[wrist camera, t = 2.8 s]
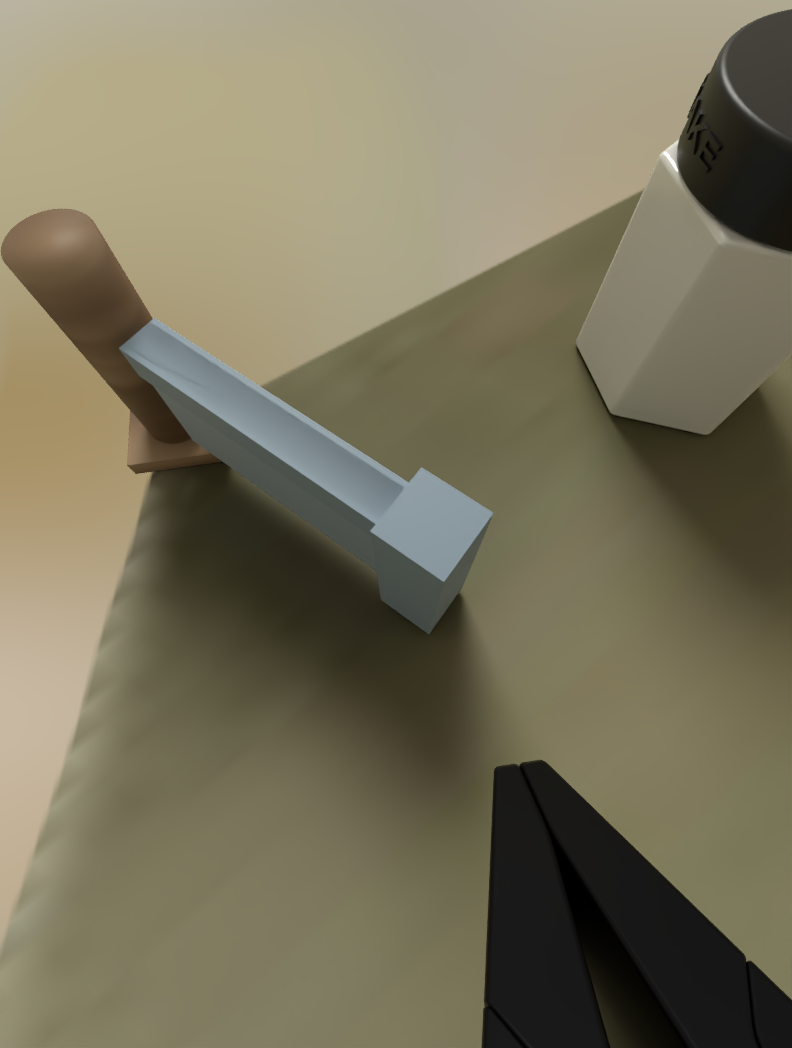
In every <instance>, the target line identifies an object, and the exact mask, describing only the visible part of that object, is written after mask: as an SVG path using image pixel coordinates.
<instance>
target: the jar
mask: <svg viewBox="0 0 792 1048" xmlns="http://www.w3.org/2000/svg"><path fill="white" fill-rule="evenodd" d="M688 118H689V119H688V121H687V123H686V125H685V127H684V129H683V131H682V134H681V136H680V139H679V140H677V141H676V142H675V143H673V144H672V145H671V146H670V147H669V148H667V149H666V150H665V151H663V152H662V153H661V155H660V156H659V158H658V160H657V162H656V164H655V167H654V169H653V171H652V173H651V176H650V178H649V180H648V182H647V185H646V187H645V189H644V191H643V193H642V196H641V198H640V200H639V202H638V205H637V207H636V209H635V211H634V213H633V216H632V218H631V220H630V222H629V225H628V227H627V229H626V231H625V233H624V236H623V238H622V240H621V242H620V245H619V247H618V249H617V251H616V254H615V256H614V258H613V260H612V262H611V265H610V267H609V269H608V271H607V274H606V276H605V278H604V280H603V282H602V285H601V287H600V289H599V291H598V294H597V296H596V298H595V300H594V303H593V305H592V307H591V309H590V311H589V314H588V316H587V318H586V320H585V323H584V325H583V327H582V329H581V331H580V334H579V336H578V338H577V341H576V345H577V347H578V349H579V351H580V353H581V355H582V357H583V359H584V361H585V363H586V365H587V367H588V369H589V371H590V373H591V375H592V377H593V379H594V381H595V383H596V385H597V387H598V389H599V391H600V393H601V395H602V397H603V399H604V401H605V403H606V405H607V408H608V410H609V412H610V413H611V414H613V415H616V416H621V417H625V418H630V419H635V420H639V421H644V422H648V423H653V424H657V425H662V426H666V427H671V428H675V429H680V430H685V431H689V432H694V433H698V434H703V435H708V434H710V433H711V432H712V431H713V430H714V429H716V428H717V427H718V426H719V425H720V424H721V423H722V422H723V421H724V420H725V419H726V418H727V417H728V416H729V415H730V414H731V413H732V412H733V411H734V410H735V409H736V408H737V407H738V406H740V405H741V404H742V403H743V402H744V401H745V400H746V399H747V398H748V397H749V396H750V395H751V394H752V393H753V392H754V391H755V390H756V389H757V388H758V387H759V386H760V385H761V384H762V383H764V382H765V381H766V380H767V379H768V378H769V377H770V376H771V375H772V374H773V373H774V372H775V371H776V370H777V369H778V368H779V367H780V366H781V365H782V364H783V363H784V362H785V361H786V360H787V359H789V358H790V357H791V356H792V9H791V10H786V11H781V12H777V13H774V14H771V15H767V16H765V17H762V18H759V19H757V20H755V21H753V22H751V23H749V24H747V25H746V26H744V27H743V28H741V29H740V30H739V31H737V32H736V33H735V34H734V35H733V36H731V38H730V39H729V40H728V41H727V42H726V43H725V45H724V46H723V48H722V49H721V51H720V53H719V55H718V57H717V59H716V61H715V63H714V66H713V68H712V70H711V72H710V73H708V74H707V76H706V78H705V80H704V82H703V83H702V85H701V87H700V89H699V92H698V94H697V96H696V98H695V100H694V102H693V104H692V107H691V109H690V111H689V114H688Z"/></svg>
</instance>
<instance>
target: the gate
mask: <svg viewBox="0 0 792 1048" xmlns="http://www.w3.org/2000/svg"><path fill="white" fill-rule="evenodd" d="M119 350H120V351H121V352H122V354H123V355H124V356H125V358H126V359H127V360H128V362H129V363H130V364H131V366H132V367H133V368H134V370H135V371H136V372H137V374H138V375H139V376H140V377H141V378H143V379H144V380H146V381H147V382H149V383H150V384H152V385H153V386H154V388H155V389H156V390H157V392H158V393H159V395H160V396H161V397H162V399H163V400H164V401H165V403H166V404H167V406H168V407H169V408H170V410H171V411H172V412H173V414H174V415H175V417H176V418H177V419H178V421H179V422H180V424H181V425H182V426H183V428H184V429H185V430H186V432H187V433H188V435H189V436H190V437H191V439H192V440H193V441H194V442H196V443H197V444H198V445H200V446H201V447H203V448H204V449H205V450H207V451H208V452H210V453H211V454H212V455H214V456H215V457H217V458H218V459H220V460H221V461H222V462H224V463H225V464H227V465H228V466H229V467H231V468H232V469H234V470H235V471H236V472H238V473H239V474H241V475H242V476H243V477H245V478H246V479H248V480H249V481H250V482H252V483H253V484H255V485H256V486H257V487H259V488H260V489H262V490H263V491H265V492H266V493H267V494H269V495H270V496H272V497H273V498H274V499H276V500H277V501H279V502H280V503H281V504H283V505H284V506H286V507H287V508H288V509H290V510H291V511H293V512H294V513H295V514H297V515H298V516H300V517H301V518H303V519H304V520H305V521H307V522H308V523H310V524H311V525H312V526H314V527H315V528H317V529H318V530H319V531H321V532H322V533H324V534H325V535H326V536H328V537H329V538H331V539H332V540H333V541H335V542H336V543H338V544H339V545H341V546H342V547H343V548H345V549H346V550H348V551H349V552H350V553H352V554H353V555H355V556H356V557H357V558H359V559H360V560H362V561H363V562H364V563H366V564H367V565H369V566H370V567H371V568H373V569H374V570H376V571H377V577H378V584H379V590H380V596H381V600H382V601H383V602H385V603H386V604H387V605H389V606H390V607H391V608H393V609H394V610H396V611H397V612H398V613H400V614H401V615H402V616H404V617H405V618H407V619H408V620H409V621H411V622H412V623H413V624H415V625H416V626H418V627H419V628H420V629H422V630H423V631H425V632H426V633H427V634H430V632H431V631H432V630H433V628H434V627H435V625H436V624H437V622H438V621H439V620H440V618H441V617H442V615H443V614H444V613H445V611H446V610H447V608H448V607H449V605H450V604H451V603H452V601H453V600H454V598H455V597H456V595H457V594H458V593H459V591H460V590H461V588H462V586H463V584H464V582H465V579H466V577H467V575H468V572H469V570H470V568H471V565H472V563H473V561H474V558H475V556H476V553H477V551H478V549H479V546H480V544H481V542H482V539H483V537H484V535H485V532H486V530H487V528H488V525H489V523H490V520H491V518H492V516H493V512H491V511H490V510H488V509H486V508H485V507H483V506H482V505H480V504H478V503H477V502H475V501H474V500H472V499H471V498H469V497H467V496H466V495H464V494H463V493H461V492H460V491H458V490H456V489H455V488H453V487H452V486H450V485H449V484H447V483H445V482H444V481H442V480H441V479H439V478H437V477H436V476H434V475H433V474H431V473H430V472H428V471H426V470H425V469H423V468H422V467H421V469H420V470H419V471H418V472H417V474H416V475H415V476H414V477H413V479H412V480H411V481H410V482H409V483H408V482H407V481H405V480H404V479H402V478H401V477H399V476H397V475H396V474H394V473H393V472H391V471H390V470H388V469H387V468H385V467H384V466H382V465H380V464H379V463H377V462H376V461H374V460H373V459H371V458H370V457H368V456H367V455H365V454H363V453H362V452H360V451H359V450H357V449H356V448H354V447H353V446H351V445H350V444H348V443H347V442H345V441H343V440H342V439H340V438H339V437H337V436H336V435H334V434H333V433H331V432H330V431H328V430H326V429H325V428H323V427H322V426H320V425H319V424H317V423H316V422H314V421H313V420H311V419H309V418H308V417H306V416H305V415H303V414H302V413H300V412H299V411H297V410H296V409H294V408H292V407H291V406H289V405H288V404H286V403H285V402H283V401H282V400H280V399H279V398H277V397H275V396H274V395H272V394H271V393H269V392H268V391H266V390H265V389H263V388H262V387H260V386H259V385H257V384H255V383H254V382H252V381H251V380H249V379H248V378H246V377H245V376H243V375H242V374H240V373H238V372H237V371H235V370H234V369H232V368H231V367H229V366H228V365H226V364H225V363H223V362H221V361H220V360H218V359H217V358H215V357H213V356H212V355H211V354H209V353H207V352H206V351H204V350H203V349H201V348H200V347H198V346H197V345H195V344H194V343H192V342H190V341H189V340H187V339H186V338H184V337H183V336H181V335H180V334H178V333H177V332H175V331H174V330H172V329H170V328H169V327H167V326H166V325H164V324H163V323H161V322H160V321H158V320H157V319H155V318H154V319H152V320H151V321H150V322H149V323H148V324H147V325H145V326H144V327H143V328H142V329H141V330H140V331H138V332H137V333H136V334H135V335H134V336H132V337H131V338H130V339H129V340H128V341H127V342H125V343H124V344H123V345H122V346H121V347H120V348H119Z"/></svg>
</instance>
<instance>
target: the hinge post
mask: <svg viewBox="0 0 792 1048" xmlns="http://www.w3.org/2000/svg"><path fill="white" fill-rule="evenodd" d="M1 255H2V259H3V261H4V262H5V264H6V265H7V266H8V267H9V269H10V270H11V271H12V272H13V273H14V274H15V276H16V277H17V278H18V279H19V280H20V281H21V282H22V284H23V285H24V286H25V287H26V289H28V291H29V292H30V293H31V294H32V296H33V297H34V298H35V299H36V300H37V301H38V302H39V304H40V305H41V306H42V307H43V308H44V309H45V311H46V312H47V313H48V314H49V316H50V317H51V318H52V319H53V320H54V321H55V322H56V324H57V325H58V326H59V327H60V328H61V330H62V331H63V332H64V333H65V334H66V335H67V337H68V338H69V339H70V340H71V341H72V342H73V344H74V345H75V346H76V347H77V348H78V349H79V351H80V352H81V353H82V354H83V355H84V357H85V358H86V359H87V360H88V361H89V362H90V364H91V365H92V366H93V367H94V368H95V369H96V370H97V372H98V373H99V374H100V375H101V377H102V378H103V379H104V380H105V381H106V382H107V383H108V385H109V386H110V387H111V388H112V389H113V391H114V392H115V393H116V394H117V395H118V396H119V397H120V399H121V400H122V401H123V402H124V403H125V405H126V406H127V407H128V408H129V409H130V425H129V444H128V461H127V466H128V467H130V469H132V470H133V471H134V472H135V473H136V474H138V473H145V472H152V471H160V470H167V469H174V468H181V467H189V466H196V465H203V464H210V463H218V462H222V461H221V460H220V459H218V458H217V457H215V456H214V455H212V454H211V453H210V452H208V451H207V450H205V449H204V448H203V447H201V446H200V445H198V444H197V443H196V442H194V441H193V440H192V439H191V437H190V436H189V435H188V433H187V432H186V430H185V429H184V428H183V426H182V425H181V424H180V422H179V421H178V419H177V418H176V417H175V415H174V414H173V412H172V411H171V410H170V408H169V407H168V406H167V404H166V403H165V401H164V400H163V399H162V397H161V396H160V395H159V393H158V392H157V390H156V389H155V388H154V386H153V385H152V384H150V383H149V382H147V381H146V380H144V379H143V378H141V377H140V376H139V375H138V374H137V372H136V371H135V370H134V368H133V367H132V366H131V364H130V363H129V362H128V360H127V359H126V358H125V356H124V355H123V354H122V352H121V351H120V350H119V348H120V347H121V346H122V345H123V344H124V343H125V342H127V341H128V340H129V339H130V338H131V337H132V336H134V335H135V334H136V333H137V332H138V331H140V330H141V329H142V328H143V327H144V326H145V325H147V324H148V323H149V322H150V321H151V320H152V319H153V318H152V317H151V315H150V313H149V312H148V310H147V308H146V307H145V305H144V303H143V302H142V300H141V298H140V297H139V295H138V294H137V292H136V290H135V289H134V287H133V285H132V284H131V282H130V280H129V279H128V277H127V276H126V274H125V272H124V271H123V269H122V267H121V266H120V264H119V262H118V261H117V259H116V257H115V256H114V254H113V252H112V251H111V249H110V247H109V246H108V244H107V243H106V241H105V239H104V238H103V236H102V234H101V233H100V231H99V229H98V228H97V226H96V224H95V223H94V222H93V220H92V219H91V218H90V217H89V216H87V215H86V214H84V213H82V212H79V211H76V210H71V209H53V210H47V211H43V212H40V213H37V214H34V215H32V216H30V217H28V218H26V219H24V220H22V221H21V222H19V223H18V224H17V225H16V226H14V227H13V228H12V229H11V230H10V232H9V233H8V234H7V236H6V237H5V239H4V241H3V243H2V247H1Z"/></svg>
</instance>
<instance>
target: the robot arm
mask: <svg viewBox="0 0 792 1048" xmlns="http://www.w3.org/2000/svg"><path fill="white" fill-rule="evenodd" d="M484 1006H485V1008H484V1010H483V1029H482V1048H792V1000H791V999H790V998H789V997H788V996H787V995H786V994H785V993H784V992H783V991H782V990H781V989H780V988H779V987H778V986H777V985H776V984H775V983H774V982H773V981H772V980H770V979H769V978H768V977H767V976H766V975H765V974H764V973H763V972H762V971H761V970H760V969H759V968H758V967H757V966H756V965H755V964H754V963H753V962H752V961H747V962H746V957H745V955H744V954H743V953H742V952H741V951H740V950H739V949H738V948H737V947H736V946H735V945H734V944H733V943H732V942H731V941H730V940H729V939H728V938H727V937H726V936H725V935H724V934H723V933H722V932H721V931H720V930H719V929H718V928H717V927H716V926H715V925H714V924H713V923H712V922H710V921H709V920H708V919H707V918H706V917H705V916H704V915H703V914H702V913H701V912H700V911H699V910H698V909H697V908H696V907H695V906H694V905H693V904H692V903H691V902H690V901H689V900H688V899H687V898H686V897H685V896H684V895H683V894H682V893H681V892H680V891H678V890H677V889H676V888H675V887H674V886H673V885H672V884H671V883H670V882H669V881H668V880H667V879H666V878H665V877H664V876H663V875H662V874H661V873H660V872H659V871H658V870H657V869H656V868H655V867H654V866H653V865H652V864H651V863H650V862H649V861H648V860H647V859H645V858H644V857H643V856H642V855H641V854H640V853H639V852H638V851H637V850H636V849H635V848H634V847H633V846H632V845H631V844H630V843H629V842H628V841H627V840H626V839H625V838H624V837H623V836H622V835H621V834H620V833H619V832H618V831H617V830H616V829H615V828H614V827H612V826H611V825H610V824H609V823H608V822H607V821H606V820H605V819H604V818H603V817H602V816H601V815H600V814H599V813H598V812H597V811H596V810H595V809H594V808H593V807H592V806H591V805H590V804H589V803H588V802H587V801H586V800H585V799H584V798H583V797H582V796H581V795H579V794H578V793H577V792H576V791H575V790H574V789H573V788H572V787H571V786H570V785H569V784H568V783H567V782H566V781H565V780H564V779H563V778H562V777H561V776H560V775H559V774H558V773H557V772H556V771H555V770H554V769H553V768H552V767H551V766H550V765H549V764H547V763H546V762H545V761H543V760H536V761H529V762H523V763H521V764H520V766H518V765H517V764H510V765H504V766H498V767H496V768H495V769H494V783H493V806H492V829H491V852H490V875H489V899H488V922H487V945H486V968H485V991H484Z"/></svg>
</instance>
